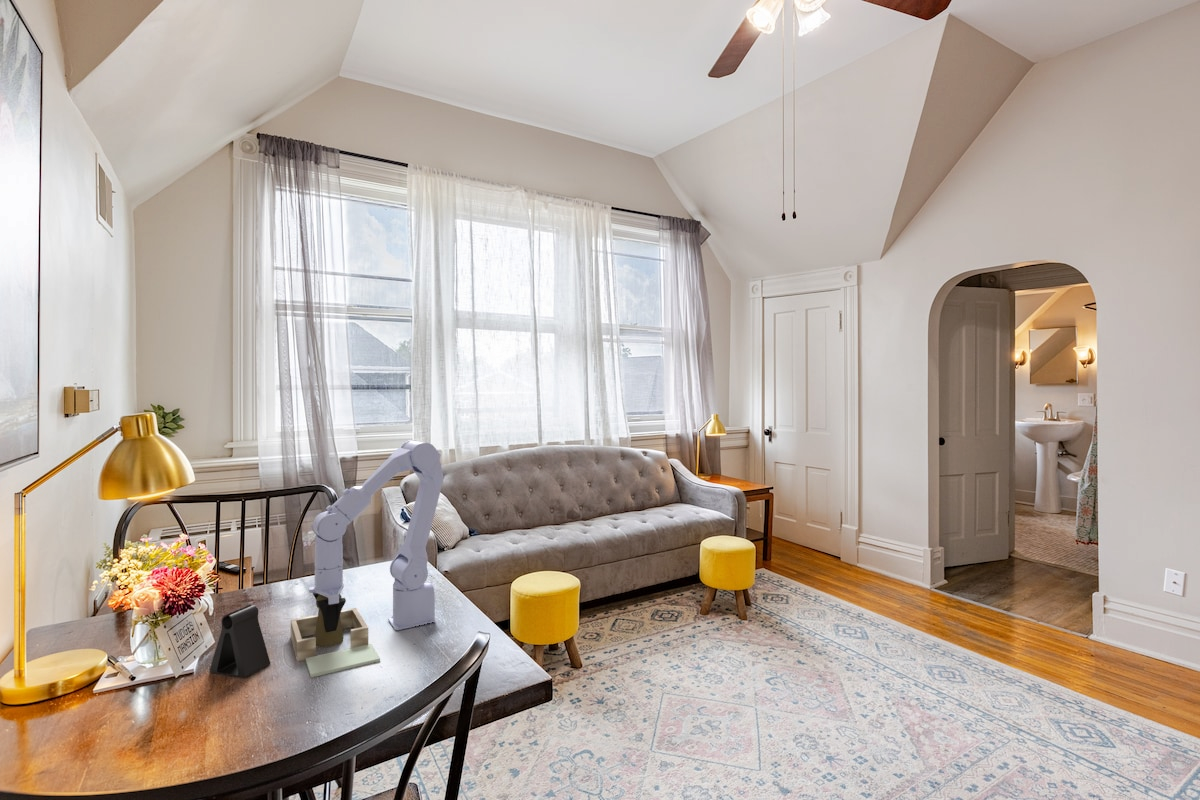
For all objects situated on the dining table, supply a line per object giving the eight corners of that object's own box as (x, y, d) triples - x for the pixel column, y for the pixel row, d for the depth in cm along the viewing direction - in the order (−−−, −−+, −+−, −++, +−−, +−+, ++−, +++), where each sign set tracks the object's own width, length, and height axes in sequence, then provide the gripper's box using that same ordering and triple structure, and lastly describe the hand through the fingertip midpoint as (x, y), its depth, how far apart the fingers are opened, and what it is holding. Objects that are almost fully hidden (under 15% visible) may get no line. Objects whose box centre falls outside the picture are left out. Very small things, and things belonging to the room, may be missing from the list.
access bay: (356, 624, 140) (356, 607, 140) (368, 645, 128) (368, 627, 128) (290, 637, 132) (290, 620, 132) (297, 661, 120) (297, 642, 120)
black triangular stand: (270, 665, 119) (270, 606, 119) (245, 678, 113) (245, 617, 113) (235, 659, 121) (235, 602, 121) (209, 673, 115) (209, 613, 115)
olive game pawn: (332, 648, 127) (332, 598, 126) (307, 646, 128) (307, 596, 128) (349, 637, 132) (349, 589, 132) (325, 634, 134) (325, 587, 134)
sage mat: (371, 646, 128) (371, 643, 128) (380, 661, 121) (380, 658, 121) (305, 660, 121) (305, 658, 121) (310, 677, 114) (310, 674, 114)
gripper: (305, 560, 134) (305, 619, 134) (313, 577, 122) (313, 642, 122) (338, 556, 138) (338, 613, 138) (349, 572, 126) (349, 634, 126)
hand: (328, 626), depth 130 cm, fingers open, 5 cm apart
